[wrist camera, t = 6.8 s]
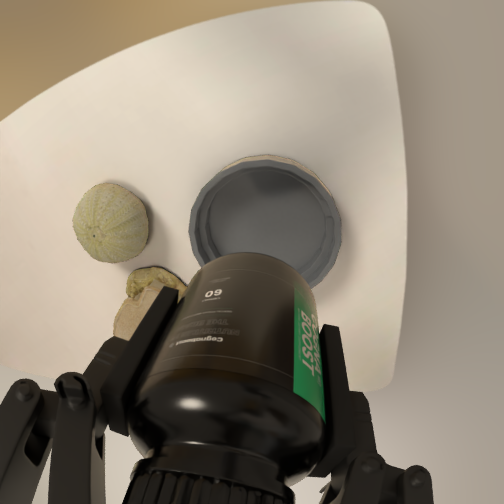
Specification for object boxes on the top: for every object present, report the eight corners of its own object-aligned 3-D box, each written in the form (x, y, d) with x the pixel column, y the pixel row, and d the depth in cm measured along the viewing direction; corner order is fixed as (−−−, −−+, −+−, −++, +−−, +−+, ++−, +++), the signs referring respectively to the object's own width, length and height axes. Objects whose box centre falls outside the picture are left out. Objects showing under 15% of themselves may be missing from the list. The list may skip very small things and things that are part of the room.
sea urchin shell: (155, 269, 33) (86, 285, 29) (132, 241, 39) (74, 253, 34) (155, 189, 29) (76, 200, 25) (131, 173, 35) (67, 181, 30)
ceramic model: (119, 317, 40) (85, 366, 31) (135, 253, 35) (93, 299, 26) (210, 361, 41) (193, 418, 32) (243, 304, 36) (229, 365, 27)
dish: (238, 128, 28) (232, 130, 25) (362, 203, 30) (371, 214, 27) (178, 245, 34) (167, 259, 31) (288, 304, 36) (288, 322, 33)
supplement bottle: (318, 247, 15) (354, 520, 4) (312, 354, 17) (313, 559, 7) (178, 247, 15) (38, 462, 5) (197, 350, 18) (134, 535, 7)
